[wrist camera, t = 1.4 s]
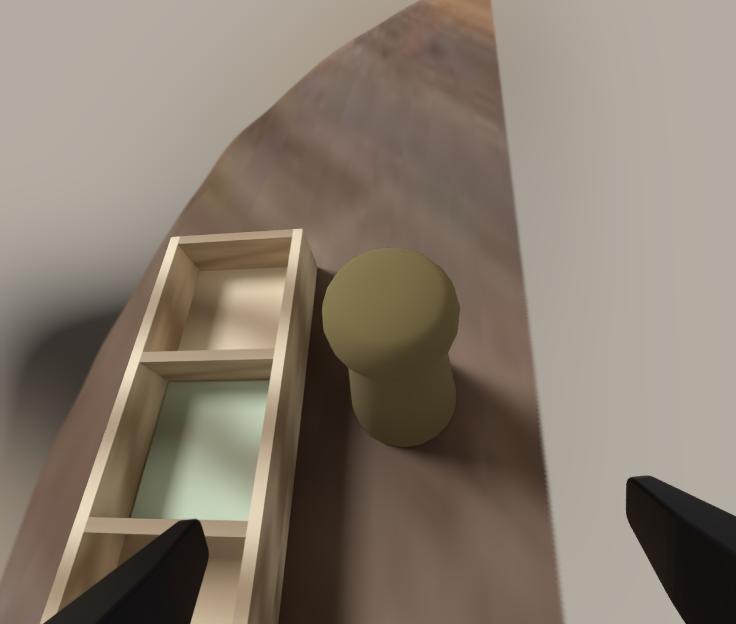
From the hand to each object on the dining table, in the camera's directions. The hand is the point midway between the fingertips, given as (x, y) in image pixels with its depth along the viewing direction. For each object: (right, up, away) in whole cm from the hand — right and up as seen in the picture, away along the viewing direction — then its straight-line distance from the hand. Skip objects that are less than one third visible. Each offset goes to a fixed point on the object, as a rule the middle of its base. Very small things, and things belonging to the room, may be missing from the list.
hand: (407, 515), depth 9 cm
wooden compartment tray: (-9, -4, +15) cm, 18 cm away
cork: (+1, -1, +15) cm, 15 cm away
